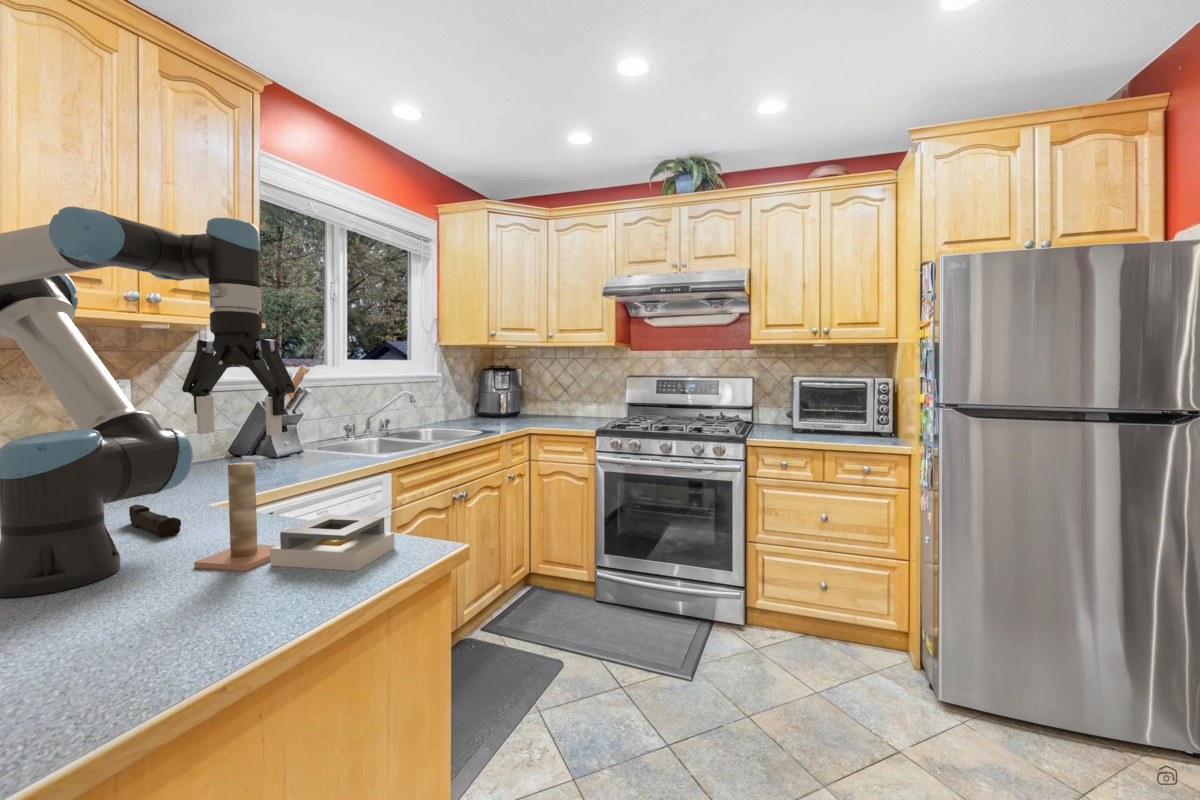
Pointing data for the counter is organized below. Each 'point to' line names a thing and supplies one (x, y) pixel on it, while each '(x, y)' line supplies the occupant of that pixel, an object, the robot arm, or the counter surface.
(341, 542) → the button
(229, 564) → the rest tile
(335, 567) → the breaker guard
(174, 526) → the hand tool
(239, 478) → the wooden cylinder
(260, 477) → the counter surface
